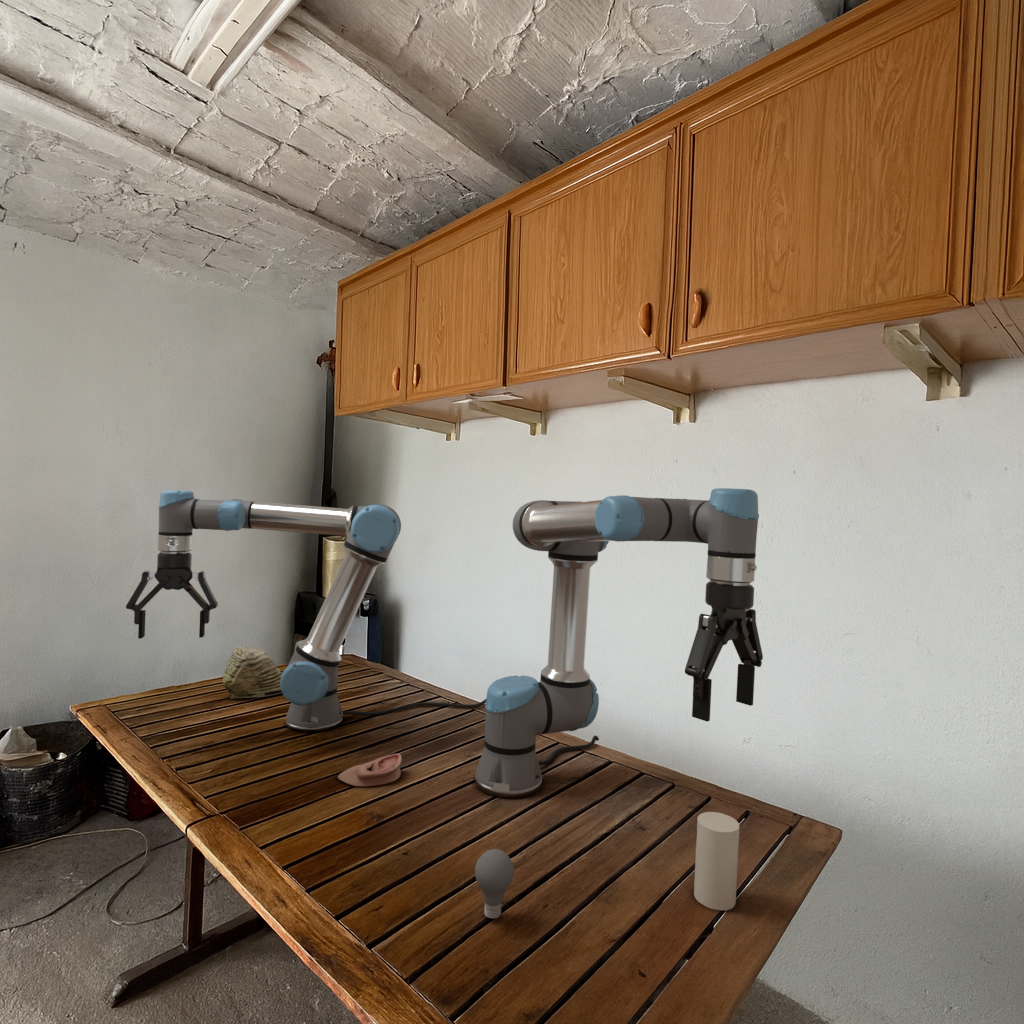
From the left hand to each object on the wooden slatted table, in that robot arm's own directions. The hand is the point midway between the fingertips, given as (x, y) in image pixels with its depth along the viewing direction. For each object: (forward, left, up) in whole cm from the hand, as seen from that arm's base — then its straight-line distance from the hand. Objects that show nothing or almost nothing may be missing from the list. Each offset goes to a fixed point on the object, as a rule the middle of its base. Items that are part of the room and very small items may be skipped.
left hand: (172, 637), depth 158 cm
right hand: (-33, +127, +5) cm, 131 cm away
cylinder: (-33, +127, -26) cm, 134 cm away
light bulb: (-4, +103, -26) cm, 107 cm away
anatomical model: (-22, +51, -26) cm, 62 cm away
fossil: (-34, -20, -26) cm, 48 cm away
